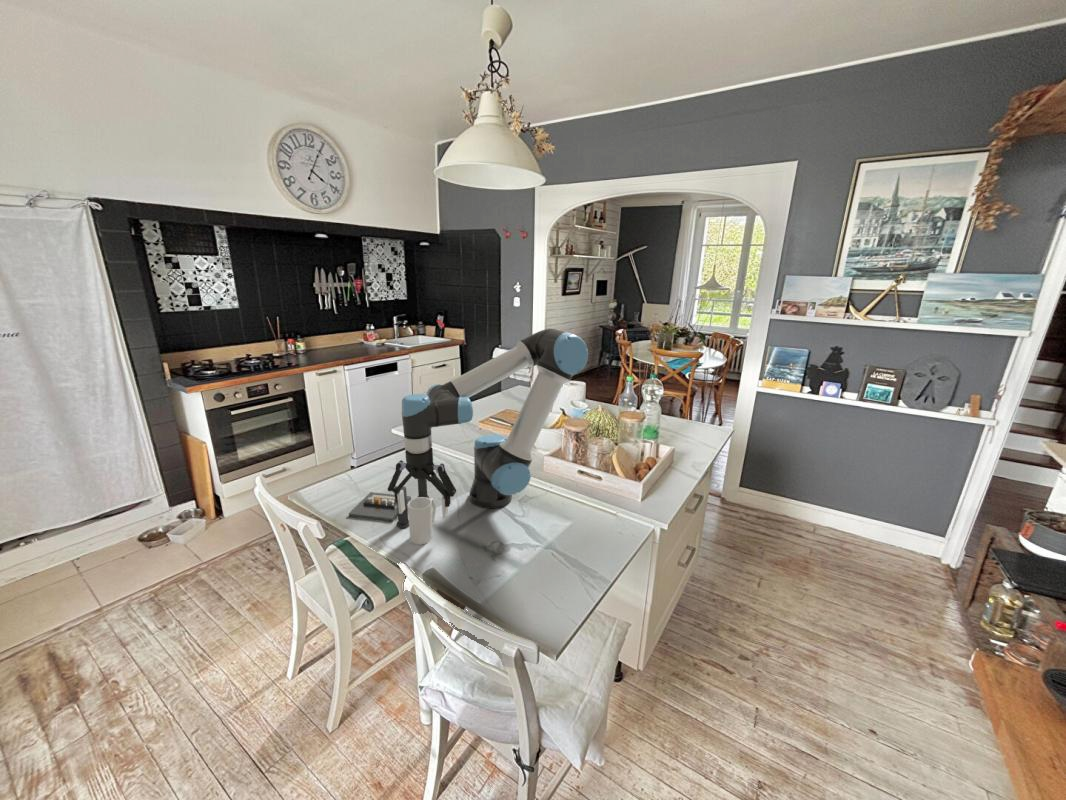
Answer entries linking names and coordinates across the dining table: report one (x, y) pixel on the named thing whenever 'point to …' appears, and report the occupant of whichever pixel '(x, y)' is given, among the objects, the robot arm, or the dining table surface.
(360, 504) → the breaker panel
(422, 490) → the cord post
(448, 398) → the robot arm
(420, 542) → the mug
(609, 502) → the dining table surface
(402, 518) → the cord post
